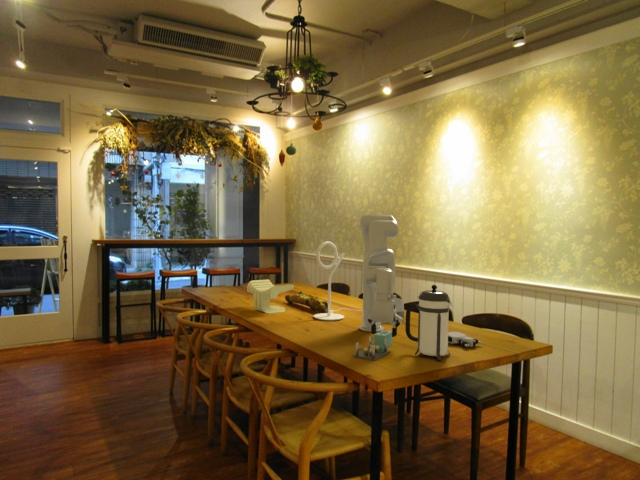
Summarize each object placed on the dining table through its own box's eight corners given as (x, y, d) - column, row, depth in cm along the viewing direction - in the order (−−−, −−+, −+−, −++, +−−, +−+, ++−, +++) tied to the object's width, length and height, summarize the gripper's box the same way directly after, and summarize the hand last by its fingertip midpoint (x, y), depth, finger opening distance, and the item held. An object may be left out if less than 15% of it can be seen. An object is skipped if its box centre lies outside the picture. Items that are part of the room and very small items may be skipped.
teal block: (382, 343, 205) (383, 329, 204) (392, 344, 202) (392, 331, 202) (374, 348, 196) (374, 334, 196) (383, 349, 194) (384, 335, 194)
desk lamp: (325, 322, 245) (327, 242, 244) (305, 317, 259) (306, 240, 258) (371, 315, 269) (373, 241, 268) (351, 310, 283) (352, 240, 282)
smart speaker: (407, 321, 254) (407, 296, 253) (393, 322, 250) (393, 297, 250) (398, 317, 262) (399, 294, 262) (384, 318, 259) (385, 295, 259)
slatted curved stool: (246, 308, 285) (247, 280, 284) (268, 306, 294) (268, 279, 294) (270, 316, 261) (270, 286, 260) (293, 313, 270) (293, 284, 270)
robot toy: (483, 348, 202) (455, 338, 214) (483, 338, 201) (456, 329, 213) (466, 352, 195) (439, 342, 207) (467, 342, 194) (440, 333, 206)
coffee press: (443, 350, 194) (445, 282, 193) (456, 361, 178) (458, 287, 177) (404, 350, 193) (406, 281, 192) (413, 361, 177) (415, 286, 176)
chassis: (368, 348, 195) (368, 335, 195) (389, 352, 190) (389, 338, 190) (352, 356, 182) (353, 342, 182) (375, 360, 177) (375, 346, 177)
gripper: (405, 297, 197) (405, 336, 197) (370, 294, 206) (369, 331, 206) (399, 299, 191) (399, 339, 191) (363, 296, 200) (362, 334, 200)
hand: (383, 335), depth 198 cm, fingers open, 9 cm apart
